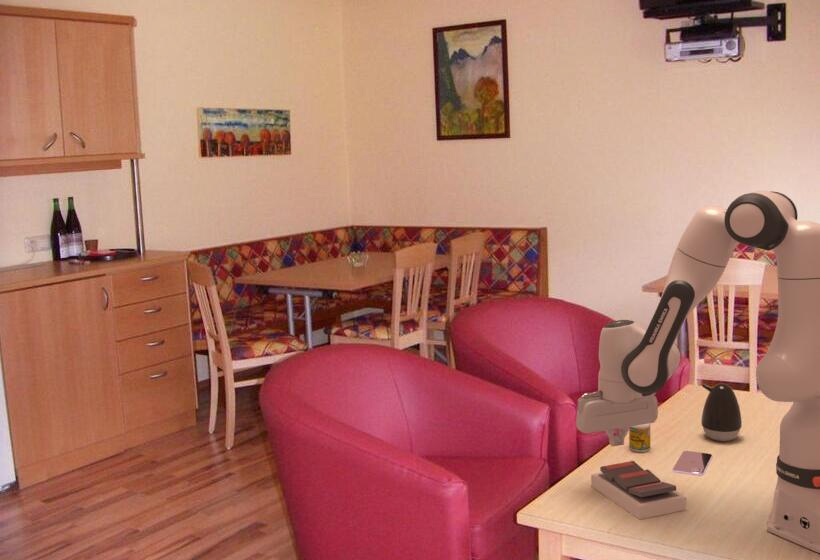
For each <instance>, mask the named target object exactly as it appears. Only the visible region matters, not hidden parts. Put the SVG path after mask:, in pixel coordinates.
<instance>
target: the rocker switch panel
mask: <svg viewBox="0 0 820 560" xmlns="http://www.w3.org/2000/svg"><path fill="white" fill-rule="evenodd" d="M590 483H591V485H590V486H591V487H592V488H593V489H594V490H596V491H598V492H599V493H600V494H602V495H603V496H605V497H607V499H609V500H610V501H612V502H614V503H615V504H616V505H618V506H620V507H621V508H622V509H623V510H626V512H627V513H629V514H631V515H632V516H634V518H637V519H638V520H644V519H648V518H653V517H658V516H662V515H667V514H673V513H677V512H683V511H686V510H687V496H685V495H683V493H680V492H679V491H677V490H676V491H671V492H666V493H661V494H656V495H650V496H645V497H640V496H637V495H634V494H631V493H629V490H628V491H626V490H625V489H624V488H623V487H621V486H620V485H619V484H618V483H617V482H616V481H611V480H610V479H609V478H607V477H606V476H605V475H604V474H603V473H602V472H601V471H600V472H595V473H592V474H591V475H590Z"/></svg>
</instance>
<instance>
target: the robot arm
mask: <svg viewBox="0 0 820 560" xmlns="http://www.w3.org/2000/svg"><path fill="white" fill-rule="evenodd" d="M798 215H799V214H798V210H797V206H796V204H795V203H794V201H793V200H792V199H791V198H790V197H788V196H787V195H785V194H784V193H781V192H778V191H774V190H773V191H769V190H757V191H751V192H749V193H743V194H742V195H739V196H738V197H736V198H735V199H734V200H733V201H732V202H731V203H730V204H729V206H728V207H727V208H724V207H721V206H716V205H708V206H703V207H702V208H700V209H698V211H696V213H694V216H693V217H692V218H691V220H690V222H689V223H688V225H687V227H686V228H685V230H684V232H683V234H682V236H681V237H680V240H679V242H678V243H677V246H676V249H675V251H674V254H673V256H672V259H671V262H670V265H669V269H668V272H667V277H666V279H665V284H664V286H663V290H662V292H661V297H660V299H659V302H658V305H657V308H656V309H655V312H654V313H653V315H652V318H651V321H650V323H649V325H648V327H647V328H646V329H644V328H642V327H641V326H640V325H638V323H636V321H634V320H630V319H619V320H615V321H610V322H608V323H607V324H605V325H604V326H603V327H602V329H601V331H600V336H599V342H598V344H599V345H598V362H599V365H600V367H599V371H598V375H597V376H598V380H597V382H598V384H597V385H598V386H597V389H598V390H597V391H593V392H585V393H583V394H582V395H581V396H580V397H579V398H578V399H577V412H576V419H575V421H576V422H575V426H576V428H577V430H579V431H580V432H581V433H583V434H592V433H598V432H605V433H606V435H607V437H608V439H609V440H608V441H609V445H610V446H611V447H612V448H613V447H617V446H624V444H625V438H626V436H627V434H629V427H630V426H636V425H643V424H649V423H650V424H653V423H655V422H656V421H657V420H658V418H659V417H658V416H659V407H658V405H659V404H658V399H657V396H656V393H657V392H659V391H661V390H662V389H663V388H664V387H665V385H666V383H667V381H669V379H670V378H671V377H672V376H673V374H675V372H676V370H677V369H678V368H679V366H680V364H681V359H682V356H681V351H680V349H679V347H678V345H677V344H676V343H675V342H676V340H677V338H678V336H679V333H680V331H681V329H682V327H683V325H684V323H685V322H686V320H687V318H688V316H689V315H691V313H692V312H693V310H694V309H696V307H697V306H698V305H699V304H701V303H702V301H703V300H704V299H705V298H706V297H707V296H708V295H709V294H710V293H711V292H712V290H713V289H714V288H715V287H716V285H717V284H718V283H719V281H720V279H721V277H722V276H723V274H724V272H725V269H726V268H727V266H728V263H729V261H730V259H731V256H732V254H733V253H734V250H735V249H736V248H737V247H738V245H739V244H742V245H745V246H747V247H752V248H757V249H761V250H764V251H772V252H773V253H774V256H775V259H776V267H777V269H776V272H777V273H776V274H777V292H778V293H777V294H778V295H777V297H778V298H777V300H778V301H777V303H778V305H777V306H778V308H777V309H778V310H777V311H778V312H777V313H778V314H777V315H778V316H777V320H776V326H775V329H774V330H775V331H774V334H773V337H772V340H771V342H770V345H769V347H768V349H767V351H766V353H765V354H764V355H763V357H762V358H761V359H760V360H759V362H758V363H757V365H756V367H755V368H756V369H755V380H756V383H757V386H758V389H759V390H760V391H761V393H762V394H763V395H764V396H765V397H766V398H768V399H769V400H771V401H774V402H781V403H792V405H791V406H790V408H789V409H788V411H787V412H786V413H785V415H784V416H783V417H782V418H781V421H780V425H779V447H778V448H779V452H778V453H779V454H778V455H777V457H776V463H775V468H776V470H775V472H776V475H777V481H776V485H775V489H774V494H773V499H772V505H771V510H770V514H769V515H768V523H767V526H766V527H767V528H766V530H767V531H768V532H769V533H771V534H774V535H776V536H779V537H780V538H783V539H785V540H787V541H789V542H793V543H795V544H797V545H799V546H802V547H804V548H806V549H808V550H812V551H813V552H815V553H818V554H820V223H819V222H815V221H811V220H810V221H806V220H803V221H801V220H798V218H799V217H798ZM617 429H619V432H618V434H617V435H614V434H615V433H616V430H617Z"/></svg>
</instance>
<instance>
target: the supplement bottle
mask: <svg viewBox="0 0 820 560" xmlns="http://www.w3.org/2000/svg"><path fill="white" fill-rule="evenodd" d="M628 435H629V437H628V441H629V442H628V445H629V447H628V448H629V450H630V451H632V452H634V453H635V452H636V453H646V452H649V451H650V450H651V423H649V424H643V425H636V426H630V427H629V431H628Z"/></svg>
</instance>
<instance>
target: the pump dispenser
mask: <svg viewBox="0 0 820 560" xmlns="http://www.w3.org/2000/svg"><path fill="white" fill-rule="evenodd" d="M702 388H704V389H706V391H708V394H707V397H706V399H705V402H704V405H703V407H702V408H703V409H702V415H701V422H700V423H701V426H702V429H703V432H704V433H705V435H706V436H707V437H708V438H709V439H711V440H714V441H717V442H729V441H732V440H734V439H735V438H737V436H738V435H739V433H740V430H741V429H742V425H743V424H742V414H741V409H740V404H739V402H738V399H737V396H736V393H735V391H734V390H733V388H732V387H731V386H730V385H728V384H727V383H723V382H720V383H717V384H715V385H714V386H711V385H709V384H706V383H702Z"/></svg>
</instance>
